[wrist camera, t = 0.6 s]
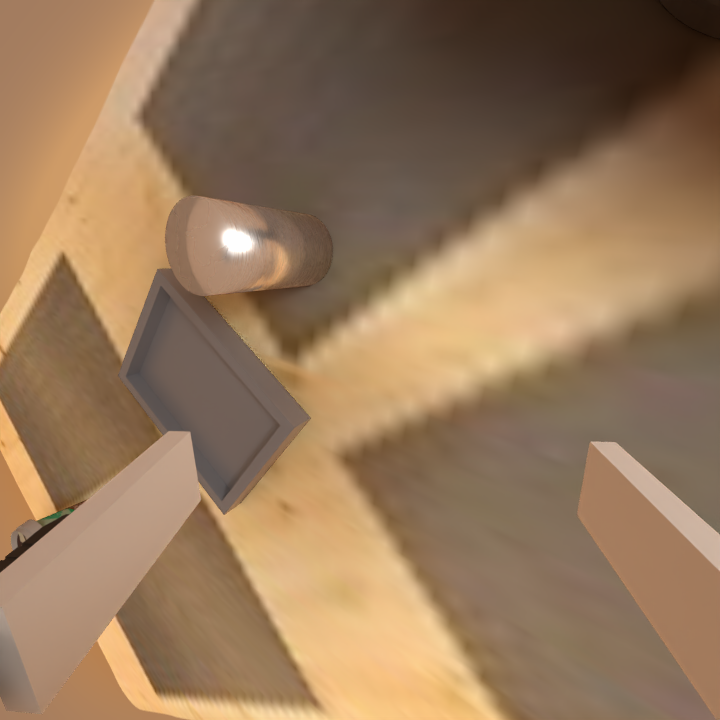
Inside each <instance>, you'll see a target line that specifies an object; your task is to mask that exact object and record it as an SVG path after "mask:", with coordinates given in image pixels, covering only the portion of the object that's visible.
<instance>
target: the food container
mask: <svg viewBox="0 0 720 720" xmlns="http://www.w3.org/2000/svg"><path fill="white" fill-rule="evenodd" d="M85 501H86V500H85ZM85 501H83V502H81V503H78V504H76V505H74V506H71V507H69V508H66V509H64V510H62V511H59V512H57V513H54V514H52V515H50V516H47V517H45V518H42V519H40V520H38V521H34V520H28V521H27V522H25V523H24V524H22V525H21V526H19V527H18V528H17V529H16V530H15V531H14V532H13V533H12V535H11V544H12V549H13V550H14V549H16V548H17V547H21V546H22V543H23V542H24V541H26V540H27V539H28V538H29V537H30V536H32V535H33V534H34V533H35V532H37V531H38V530H39V529H40V528H42V527H43V526H45V525H47V524H49V523H50V522H52V521H54V520H56V519H58V518H59V517H61V516H63V515H65V514H71V513H72V512H73V511H74V510H76V509H77V508H78V507H79V506H80V505H82V504H83V503H84V502H85Z"/></svg>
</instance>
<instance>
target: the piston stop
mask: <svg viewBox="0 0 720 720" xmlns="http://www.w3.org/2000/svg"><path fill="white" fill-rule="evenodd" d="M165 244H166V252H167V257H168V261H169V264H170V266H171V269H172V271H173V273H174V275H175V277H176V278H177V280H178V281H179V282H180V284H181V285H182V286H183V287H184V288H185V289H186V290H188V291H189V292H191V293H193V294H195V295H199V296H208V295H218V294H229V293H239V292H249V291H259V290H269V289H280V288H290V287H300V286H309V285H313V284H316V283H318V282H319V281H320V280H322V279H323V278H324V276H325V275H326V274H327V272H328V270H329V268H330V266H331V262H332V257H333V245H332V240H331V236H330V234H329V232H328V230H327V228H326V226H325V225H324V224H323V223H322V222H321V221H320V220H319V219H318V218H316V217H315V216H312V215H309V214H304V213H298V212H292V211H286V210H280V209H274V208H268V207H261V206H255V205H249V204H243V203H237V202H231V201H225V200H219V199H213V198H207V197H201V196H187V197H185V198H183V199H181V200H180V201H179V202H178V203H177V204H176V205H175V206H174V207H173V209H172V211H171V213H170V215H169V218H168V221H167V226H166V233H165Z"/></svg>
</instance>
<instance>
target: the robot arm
mask: <svg viewBox="0 0 720 720" xmlns="http://www.w3.org/2000/svg"><path fill="white" fill-rule="evenodd" d="M659 1H660V2H661V4H662V5H663V6H664V7H665V8H666V9H667V10H668V11H669V12H670V13H671V14H672V15H673V16H674V17H676V18H677V19H678V20H680V21H681V22H682V23H684V24H685V25H687V26H689V27H691V28H693V29H694V30H696V31H699V32H701V33H703V34H706V35H709V36H712V37H715V38H718V39H720V0H659ZM200 501H201V496H200V490H199V484H198V477H197V471H196V465H195V458H194V452H193V446H192V440H191V433H190V432H188V431H168V432H167V433H166V434H165V435H164V436H162V437H161V438H160V439H159V440H158V441H156V442H155V443H154V444H153V445H152V446H150V447H149V448H148V449H147V450H146V451H145V452H143V453H142V454H141V455H140V456H139V457H137V458H136V459H135V460H134V461H133V462H131V463H130V464H129V465H128V466H127V467H125V468H124V469H123V470H122V471H121V472H120V473H118V474H117V475H116V476H115V477H114V478H112V479H111V480H110V481H109V482H108V483H106V484H105V485H104V486H103V487H102V488H101V489H99V490H98V491H97V492H96V493H95V494H93V495H92V496H91V497H90V498H89V499H87V500H86V501H85V502H84V503H83V504H82V505H80V506H79V507H78V508H77V509H76V510H74V511H73V512H72V513H71V514H65V515H63V516H61V517H59V518H58V519H56V520H54V521H52V522H50V523H49V524H47V525H45V526H43V527H42V528H40V529H39V530H38V531H37V532H35V533H34V534H33V535H32V536H30V537H29V538H28V539H27V540H26V541H24V542H23V543H22V546H21V547H17V548H16V549H14V550H13V551H12V552H11V553H9V554H8V555H7V556H6V557H5V560H1V561H0V697H1V699H2V701H3V704H4V706H5V709H6V710H7V711H15V712H26V713H37V714H42V713H43V712H44V710H45V709H46V708H47V706H48V705H49V704H50V702H51V701H52V700H53V698H54V697H55V696H56V694H57V693H58V692H59V690H60V689H61V688H62V686H63V685H64V684H65V682H66V681H67V680H68V678H69V677H70V675H71V674H72V673H73V671H74V670H75V669H76V667H77V666H78V665H79V663H80V662H81V661H82V659H83V658H84V657H85V655H86V654H87V653H88V651H89V650H90V649H91V647H92V646H93V645H94V643H95V642H96V641H97V639H98V638H99V636H100V635H101V634H102V632H103V631H104V630H105V628H106V627H107V626H108V624H109V623H110V622H111V620H112V619H113V618H114V616H115V615H116V614H117V612H118V611H119V610H120V608H121V607H122V606H123V604H124V603H125V602H126V600H127V599H128V598H129V596H130V595H131V593H132V592H133V591H134V589H135V588H136V587H137V585H138V584H139V583H140V581H141V580H142V579H143V577H144V576H145V575H146V573H147V572H148V571H149V569H150V568H151V567H152V565H153V564H154V563H155V561H156V560H157V559H158V557H159V556H160V554H161V553H162V552H163V550H164V549H165V548H166V546H167V545H168V544H169V542H170V541H171V540H172V538H173V537H174V536H175V534H176V533H177V532H178V530H179V529H180V528H181V526H182V525H183V524H184V522H185V521H186V520H187V518H188V517H189V515H190V514H191V513H192V511H193V510H194V509H195V507H196V506H197V505H198V503H199V502H200ZM577 516H578V517H579V519H580V520H581V522H582V523H583V525H584V526H585V528H586V529H587V530H588V532H589V533H590V535H591V536H592V538H593V539H594V541H595V542H596V544H597V545H598V547H599V548H600V550H601V551H602V552H603V554H604V555H605V557H606V558H607V560H608V561H609V563H610V564H611V566H612V567H613V569H614V570H615V572H616V573H617V575H618V576H619V577H620V579H621V580H622V582H623V583H624V585H625V586H626V588H627V589H628V591H629V592H630V594H631V595H632V597H633V598H634V599H635V601H636V602H637V604H638V605H639V607H640V608H641V610H642V611H643V613H644V614H645V616H646V617H647V619H648V620H649V621H650V623H651V624H652V626H653V627H654V629H655V630H656V632H657V633H658V635H659V636H660V638H661V639H662V641H663V642H664V644H665V645H666V646H667V648H668V649H669V651H670V652H671V654H672V655H673V657H674V658H675V660H676V661H677V663H678V664H679V666H680V667H681V668H682V670H683V671H684V673H685V674H686V676H687V677H688V679H689V680H690V682H691V683H692V685H693V686H694V688H695V689H696V690H697V692H698V693H699V695H700V696H701V698H702V699H703V701H704V702H705V704H706V705H707V707H708V708H709V710H710V711H711V713H712V714H713V715H714V717H715V718H716V720H720V535H719V534H718V533H717V532H716V531H715V530H714V529H713V528H711V527H710V526H709V525H708V524H707V523H706V522H705V521H704V520H702V519H701V518H700V517H699V516H698V515H697V514H696V513H695V512H693V511H692V510H691V509H690V508H689V507H688V506H687V505H686V504H684V503H683V502H682V501H681V500H680V499H679V498H678V497H677V496H675V495H674V494H673V493H672V492H671V491H670V490H669V489H668V488H666V487H665V486H664V485H663V484H662V483H661V482H660V481H659V480H657V479H656V478H655V477H654V476H653V475H652V474H651V473H650V472H648V471H647V470H646V469H645V468H644V467H643V466H642V465H641V464H639V463H638V462H637V461H636V460H635V459H634V458H633V457H632V456H630V455H629V454H628V453H627V452H626V451H625V450H624V449H623V448H621V447H620V446H619V445H618V444H617V443H616V442H590V445H589V450H588V456H587V462H586V467H585V473H584V478H583V484H582V490H581V495H580V501H579V506H578V512H577Z"/></svg>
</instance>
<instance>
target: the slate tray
mask: <svg viewBox="0 0 720 720" xmlns="http://www.w3.org/2000/svg"><path fill="white" fill-rule="evenodd" d="M118 377H119V378H120V379H121V380H122V382H123V383H124V384H125V386H126V387H127V388H128V390H129V391H130V392H131V394H132V395H133V396H134V397H135V399H136V400H137V401H138V403H139V404H140V405H141V407H142V408H143V409H144V411H145V412H146V413H147V415H148V416H149V417H150V418H151V420H152V421H153V422H154V424H155V425H156V426H157V428H158V429H159V430H160V432H161V433H162V434H163V435H165V434H166V433H167V432H168V431H188V432H190V433H191V440H192V446H193V452H194V458H195V465H196V471H197V477H198V481H199V483H200V484H201V485H202V487H203V488H204V489H205V490H206V492H207V493H208V494H209V496H210V497H211V498H212V500H213V501H214V502H215V504H216V505H217V506H218V508H219V509H220V510H221V511H222V513H223V514H224V515H225V514H226V513H227V512H229V511H230V510H232V509H233V508H234V507H236V506H237V505H239V504H240V503H241V502H242V501H243V500H244V498H245V497H246V496H247V495H248V494H249V492H250V491H251V490H252V489H253V487H254V486H255V485H256V484H257V483H258V481H259V480H260V479H261V478H262V477H263V475H264V474H265V473H266V472H267V471H268V469H269V468H270V467H271V466H272V464H273V463H274V462H275V461H276V460H277V458H278V457H279V456H280V455H281V454H282V452H283V451H284V450H285V449H286V448H287V446H288V445H289V444H290V443H291V441H292V440H293V439H294V438H295V437H296V435H297V434H298V433H299V432H300V431H301V429H302V428H303V427H304V426H305V424H306V423H307V422H308V421H309V420H310V417H309V416H308V415H307V413H306V412H305V411H304V410H303V409H302V408H301V407H300V405H299V404H298V403H297V402H296V401H295V400H294V399H293V397H292V396H291V395H290V394H289V393H288V392H287V391H286V389H285V388H284V387H283V386H282V385H281V384H280V383H279V382H278V380H277V379H276V378H275V377H274V376H273V375H272V374H271V372H270V371H269V370H268V369H267V368H266V367H265V366H264V364H263V363H262V362H261V361H260V360H259V359H258V358H257V356H256V355H255V354H254V353H253V352H252V351H251V350H250V348H249V347H248V346H247V345H246V344H245V343H244V342H243V341H242V339H241V338H240V337H239V336H238V335H237V334H236V333H235V331H234V330H233V329H232V328H231V327H230V326H229V325H228V323H227V322H226V321H225V320H224V319H223V318H222V317H221V315H220V314H219V313H218V312H217V311H216V310H215V309H214V307H213V306H212V305H211V304H210V303H209V302H208V301H207V300H206V298H205V297H204V296H199V295H195V294H193V293H191V292H189V291H188V290H186V289H185V288H184V287H183V286H182V285H181V284H180V282H179V281H178V280H177V278H176V277H175V275H174V273H173V271H172V269H157V272H156V275H155V277H154V280H153V283H152V285H151V288H150V291H149V293H148V296H147V299H146V302H145V304H144V307H143V310H142V312H141V315H140V318H139V320H138V323H137V326H136V329H135V331H134V334H133V337H132V339H131V342H130V345H129V347H128V350H127V353H126V355H125V358H124V361H123V364H122V366H121V369H120V372H119V374H118Z"/></svg>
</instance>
